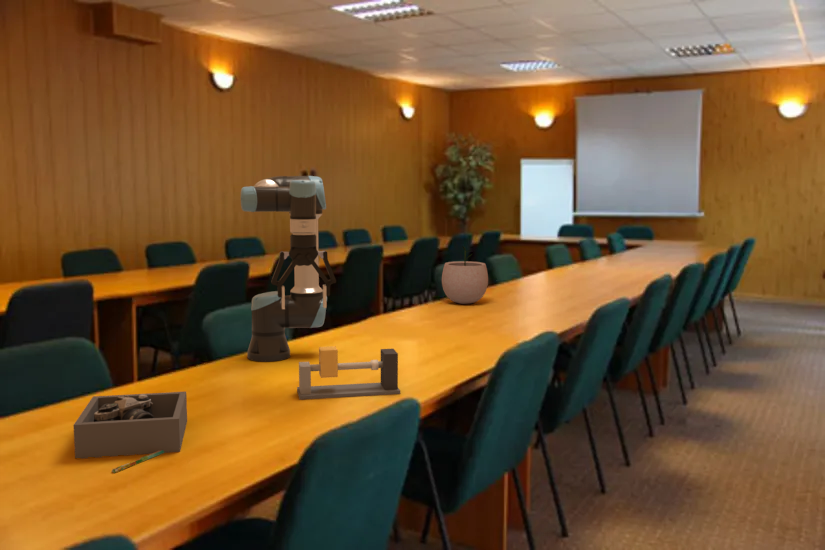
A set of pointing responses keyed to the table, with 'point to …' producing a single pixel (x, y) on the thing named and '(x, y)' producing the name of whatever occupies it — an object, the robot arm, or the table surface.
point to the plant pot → (464, 280)
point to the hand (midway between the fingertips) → (304, 307)
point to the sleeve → (328, 361)
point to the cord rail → (351, 390)
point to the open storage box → (132, 428)
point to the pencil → (137, 461)
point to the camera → (126, 409)
